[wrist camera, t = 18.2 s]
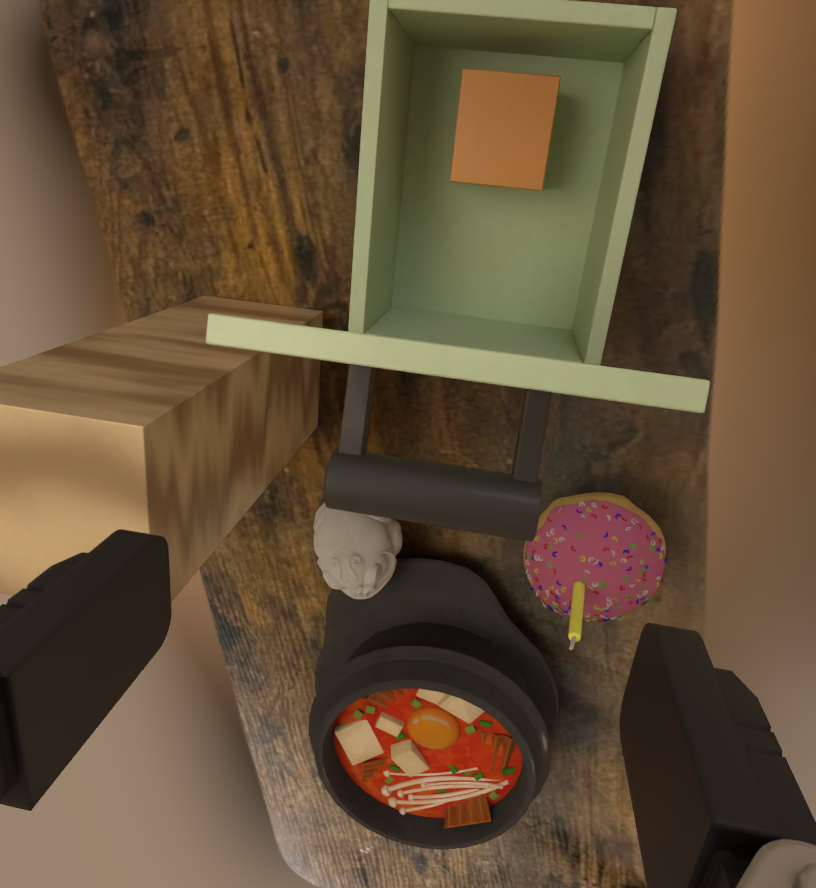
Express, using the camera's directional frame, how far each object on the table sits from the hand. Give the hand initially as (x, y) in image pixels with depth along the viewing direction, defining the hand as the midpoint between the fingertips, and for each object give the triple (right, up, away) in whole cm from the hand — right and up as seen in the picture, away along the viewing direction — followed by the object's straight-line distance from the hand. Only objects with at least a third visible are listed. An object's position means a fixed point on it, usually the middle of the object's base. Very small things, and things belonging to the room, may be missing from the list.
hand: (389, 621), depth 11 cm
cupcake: (+12, -2, +34) cm, 36 cm away
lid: (+2, +6, +13) cm, 15 cm away
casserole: (+3, -16, +41) cm, 44 cm away
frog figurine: (-3, -2, +36) cm, 36 cm away
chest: (+5, +17, +27) cm, 33 cm away
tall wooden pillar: (-9, +8, +33) cm, 35 cm away
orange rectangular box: (+6, +20, +25) cm, 33 cm away
